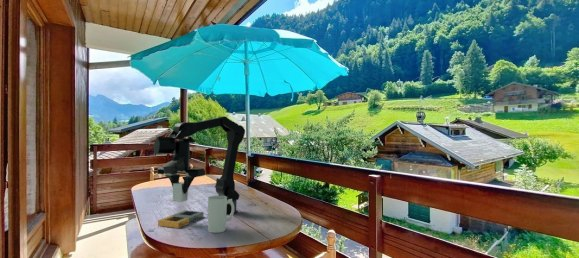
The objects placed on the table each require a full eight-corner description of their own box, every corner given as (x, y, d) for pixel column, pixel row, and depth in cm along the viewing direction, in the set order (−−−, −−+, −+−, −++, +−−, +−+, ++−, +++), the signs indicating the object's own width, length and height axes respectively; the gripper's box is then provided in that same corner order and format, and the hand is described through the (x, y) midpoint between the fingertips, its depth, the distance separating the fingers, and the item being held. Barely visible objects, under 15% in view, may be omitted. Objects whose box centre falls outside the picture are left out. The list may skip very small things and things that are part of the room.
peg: (187, 200, 125) (188, 182, 125) (181, 202, 121) (181, 184, 121) (178, 199, 126) (179, 182, 126) (172, 201, 122) (173, 183, 123)
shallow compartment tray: (203, 216, 132) (203, 212, 132) (178, 228, 115) (178, 222, 115) (185, 214, 134) (185, 210, 134) (157, 225, 118) (158, 220, 118)
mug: (210, 234, 109) (211, 199, 109) (204, 229, 115) (205, 196, 115) (237, 230, 115) (238, 197, 115) (230, 225, 120) (231, 194, 120)
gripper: (148, 153, 119) (146, 194, 119) (189, 155, 114) (188, 198, 113) (167, 152, 130) (165, 190, 129) (206, 154, 124) (205, 193, 124)
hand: (180, 193), depth 124 cm, fingers closed on peg, 4 cm apart
